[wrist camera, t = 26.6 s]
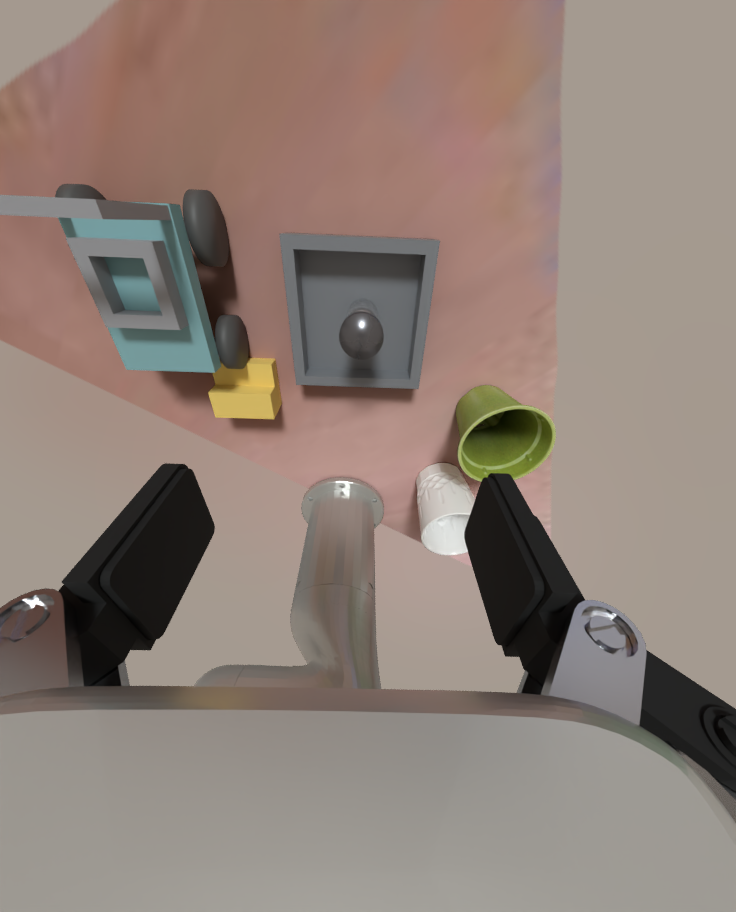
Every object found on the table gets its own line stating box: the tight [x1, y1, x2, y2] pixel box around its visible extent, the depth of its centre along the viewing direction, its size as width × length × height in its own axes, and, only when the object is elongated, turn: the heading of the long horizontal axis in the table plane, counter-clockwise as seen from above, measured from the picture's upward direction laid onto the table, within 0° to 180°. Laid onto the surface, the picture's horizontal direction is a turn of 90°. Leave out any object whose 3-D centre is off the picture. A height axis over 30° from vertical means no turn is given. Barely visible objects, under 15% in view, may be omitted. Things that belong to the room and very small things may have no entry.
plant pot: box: [456, 385, 556, 482], centre depth 34 cm, size 9×9×9 cm
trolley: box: [0, 184, 249, 373], centre depth 24 cm, size 14×10×14 cm
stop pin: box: [339, 299, 384, 360], centre depth 28 cm, size 4×4×8 cm
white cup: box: [416, 463, 475, 555], centre depth 41 cm, size 8×8×10 cm
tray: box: [280, 233, 440, 389], centre depth 30 cm, size 13×13×3 cm
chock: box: [208, 358, 282, 419], centre depth 34 cm, size 6×6×4 cm
